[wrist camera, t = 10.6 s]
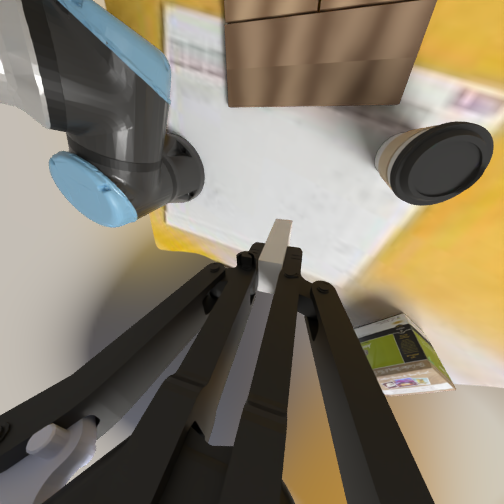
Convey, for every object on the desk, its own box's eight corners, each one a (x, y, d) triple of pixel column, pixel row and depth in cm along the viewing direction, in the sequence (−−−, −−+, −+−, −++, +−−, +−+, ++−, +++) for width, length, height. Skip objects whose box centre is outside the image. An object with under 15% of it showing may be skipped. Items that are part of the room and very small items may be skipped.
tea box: (372, 345, 60) (386, 398, 48) (352, 327, 58) (362, 378, 46) (425, 332, 51) (458, 393, 39) (404, 311, 49) (432, 368, 37)
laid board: (230, 107, 35) (228, 106, 34) (227, 28, 29) (224, 24, 28) (396, 104, 29) (399, 104, 28) (432, 3, 23) (437, -2, 22)
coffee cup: (356, 171, 35) (378, 193, 23) (393, 115, 29) (446, 105, 17) (401, 189, 34) (447, 221, 23) (446, 136, 29) (538, 141, 17)
